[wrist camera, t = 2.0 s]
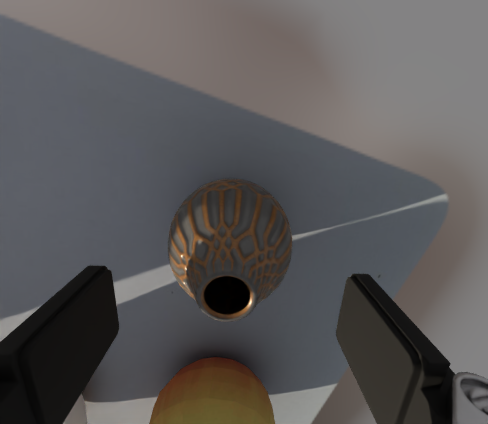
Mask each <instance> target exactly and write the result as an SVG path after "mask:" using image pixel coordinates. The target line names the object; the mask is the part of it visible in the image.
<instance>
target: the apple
mask: <svg viewBox="0 0 488 424" xmlns="http://www.w3.org/2000/svg"><path fill="white" fill-rule="evenodd" d="M149 424H275V420H274V415H273V409H272V405H271V402H270V399H269V396H268V393H267V391H266V389H265V387H264V386H263V384H262V383H261V381H260V380H259V378H258V377H257V376H256V375H255V374H254V373H253V372H252V371H251V370H250V369H249V368H247V367H246V366H245V365H243V364H241V363H239V362H237V361H235V360H232V359H228V358H221V357H211V358H204V359H199V360H197V361H195V362H193V363H191V364H189V365H187V366H185V367H184V368H182V369H180V371H179V372H178V373H177V374H176V375H175V376H174V377H173V378H172V379H171V380H170V381H169V383H168V384H167V385H166V386H165V387H164V388H163V389H162V390H161V391H160V393H159V396H158V398H157V401H156V403H155V405H154V408H153V412H152V416H151V419H150V423H149Z"/></svg>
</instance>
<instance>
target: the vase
mask: <svg viewBox="0 0 488 424" xmlns="http://www.w3.org/2000/svg"><path fill="white" fill-rule="evenodd" d="M291 253H292V235H291V229H290V225H289V222H288V219H287V217H286V214H285V212H284V211H283V209H282V207H281V206H280V204H279V203H278V202H277V200H276V199H275V198H274V197H273V196H272V195H271V194H270V193H269V192H267V191H266V190H265V189H263V188H262V187H260V186H258V185H256V184H254V183H252V182H249V181H245V180H241V179H221V180H216V181H213V182H210V183H208V184H205V185H203V186H202V187H200V188H198V189H197V190H196V191H194V192H193V193H192V194H191V195H190V196H189V197H188V198H187V199H186V200H185V201H184V202H183V203H182V205H181V206H180V207H179V209H178V211H177V212H176V214H175V216H174V218H173V221H172V224H171V227H170V231H169V237H168V255H169V261H170V265H171V268H172V271H173V274H174V276H175V278H176V280H177V281H178V283H179V284H180V286H181V287H182V288H183V289H184V291H185V292H186V293H187V294H189V295H190V296H191V297H192V298H193V299H195V300H196V302H197V304H198V306H199V308H200V309H201V310H202V312H203V313H204V314H206V315H207V316H209V317H210V318H212V319H215V320H218V321H223V322H231V321H237V320H240V319H242V318H244V317H246V316H247V315H249V314H250V313H251V312H252V311H253V309H254V308H255V307H256V305H257V304H258V303H259V302H261V301H263V300H264V299H265V298H267V297H268V296H269V295H270V294H271V293H273V291H274V290H275V289H276V288H277V287H278V286H279V284H280V283H281V281H282V280H283V278H284V276H285V274H286V272H287V269H288V266H289V263H290V259H291Z"/></svg>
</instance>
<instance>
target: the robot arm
mask: <svg viewBox="0 0 488 424" xmlns="http://www.w3.org/2000/svg"><path fill="white" fill-rule="evenodd" d="M118 330H119V321H118V314H117V307H116V300H115V293H114V286H113V278H112V272H111V270H108V269H107V267H106V266H87V267H86V268H85V269H84V270H83V271H81V272H80V273H79V274H78V275H77V276H76V277H75V278H73V279H72V280H71V281H70V282H69V283H68V284H67V285H65V286H64V287H63V288H62V289H61V290H60V291H58V292H57V293H56V294H55V295H54V296H53V297H52V298H50V299H49V300H48V301H47V302H46V303H45V304H44V305H42V306H41V307H40V308H39V309H38V310H37V311H35V312H34V313H33V314H32V315H31V316H30V317H29V318H27V319H26V320H25V321H24V322H23V323H22V324H21V325H19V326H18V327H17V328H16V329H15V330H14V331H12V332H11V333H10V334H9V335H8V336H7V337H6V338H4V339H3V340H2V341H1V342H0V424H63V423H64V421H65V419H66V418H67V416H68V414H69V413H70V411H71V410H72V408H73V406H74V405H75V403H76V401H77V400H78V398H79V396H80V395H81V393H82V392H83V390H84V388H85V387H86V385H87V383H88V382H89V380H90V378H91V377H92V375H93V374H94V372H95V370H96V369H97V367H98V365H99V364H100V362H101V360H102V359H103V357H104V356H105V354H106V352H107V351H108V349H109V347H110V346H111V344H112V342H113V341H114V339H115V338H116V336H117V334H118ZM336 336H337V340H338V342H339V345H340V347H341V349H342V351H343V353H344V355H345V357H346V359H347V361H348V364H349V366H350V368H351V370H352V372H353V374H354V376H355V378H356V380H357V383H358V385H359V387H360V389H361V391H362V393H363V395H364V397H365V399H366V402H367V404H368V406H369V408H370V410H371V412H372V414H373V416H374V418H375V420H376V423H377V424H488V379H487V378H484V377H482V376H479V375H477V374H473V373H468V372H460V373H457V374H455V373H454V372H453V371H452V370H451V369H450V368H449V366H450V362H449V361H448V360H447V359H446V358H445V357H444V356H443V355H442V354H441V353H440V351H439V350H438V349H437V348H436V347H435V346H434V345H433V344H432V343H431V342H430V340H429V339H428V338H427V337H426V336H425V335H424V334H423V333H422V332H421V331H420V330H419V328H417V326H416V325H415V324H414V323H413V322H412V321H411V320H410V319H409V318H408V317H407V316H406V314H405V313H404V312H403V311H402V310H401V309H400V308H399V307H398V306H397V305H396V303H395V302H394V301H393V300H392V299H391V298H390V297H389V296H388V295H387V294H386V293H385V291H384V290H383V289H382V288H381V287H380V286H379V285H378V284H377V283H376V282H375V281H374V279H373V278H372V277H371V276H370V275H369V274H352V275H351V277H348V278H347V280H346V285H345V290H344V295H343V300H342V304H341V309H340V314H339V319H338V324H337V329H336Z"/></svg>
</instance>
